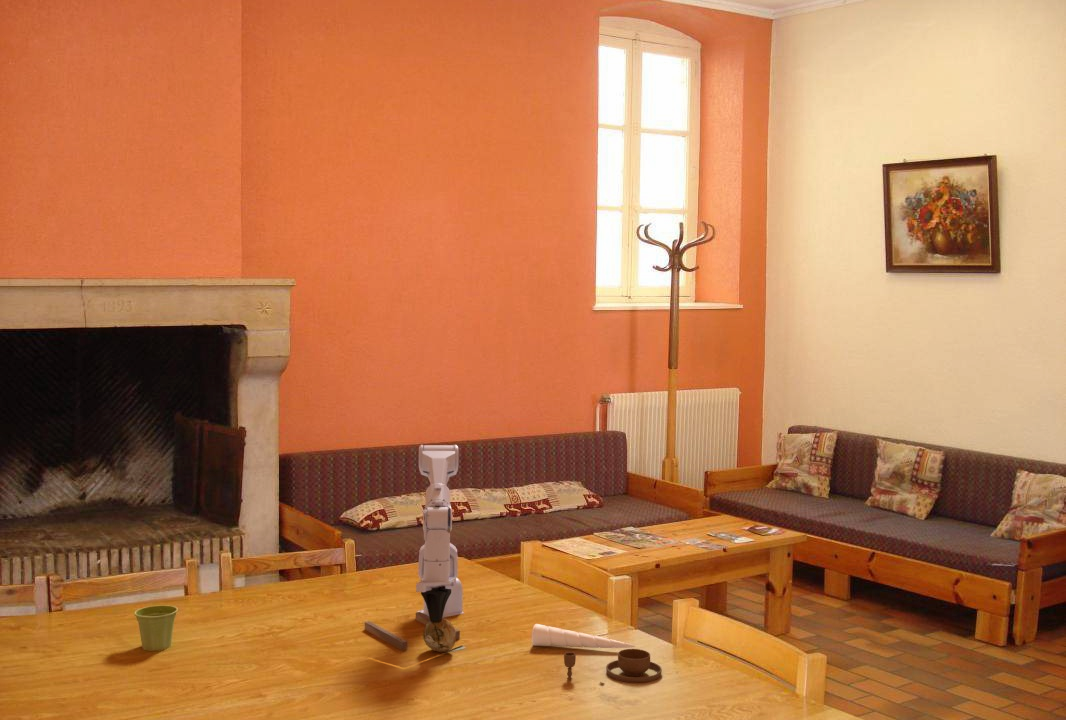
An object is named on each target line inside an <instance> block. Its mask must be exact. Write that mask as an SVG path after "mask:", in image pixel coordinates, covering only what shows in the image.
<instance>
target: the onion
mask: <svg viewBox="0 0 1066 720" xmlns="http://www.w3.org/2000/svg"><path fill="white" fill-rule="evenodd" d="M455 629H456V628H455V627H454V625H453V623H452V621H450V620H449V619H447V618H445V617H443V618H442V620H441V622H431V621H430V622H429V623H428V624H427V625H425V627H424V630H423V633H422V636H423V641H424V644H425V645H426V646H427V647H428V648H429V649H431V650H432V651H434V652H438V653H444V652H446V651H449V650H451V649H454V647H455V645H456V631H455Z"/></svg>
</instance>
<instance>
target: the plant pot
mask: <svg viewBox="0 0 1066 720" xmlns="http://www.w3.org/2000/svg"><path fill="white" fill-rule="evenodd" d="M178 611H179V608H178V607H177V606H174V605H166V604H164V605H163V604H162V605H161V604H160V605H159V604H158V605H150V606H145V607H142V608H141V607H140V608H138V609H136V610H135V611H134V613H133V615H134V616H135V617H136V621H137V623H138V627H139V633H140V634H139V635H140V640H141V646H142V650H144V651H147V650H148V652H154V651H158V652H159V651H163V649H164V650H167V649H169V648H170V647H171V646H172V642H173V641H172V640H173V633H174V626H175V625H174V623H175V619H176V616H177V613H178Z"/></svg>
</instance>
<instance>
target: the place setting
mask: <svg viewBox="0 0 1066 720" xmlns="http://www.w3.org/2000/svg"><path fill="white" fill-rule="evenodd" d="M576 658H577V657H576V653H575V652H572V651H571V652H570V651H569V652H568V651H567V652H564V654H563V663H564V665H565V667H566V668H567V672H566V673H567V678H566V679H567V680H568V681H572V680H573V678H572V676H573V672H572V670H573V669H572V668H574V667H575V665H576ZM616 668H619V669H620V670H621V671H622V672H623V673H624V674H625V675H626V676H625V675H621V674H617V673H614V672H612V670H613V669H616ZM605 669H606V670H605V671H606V673H607V675H608V676H609V677H611V678H612V679H614V680H616V681H619V682H620V681H621V682H624V683H625V682H626V683H634V684H642V683H649V682H650V683H651V682H653V681H656V680H657V679H658V678H660V677H661V675H662V673H663V672H662V667H661V665H659V664H657V663H655V662H653V661H651V653H649V652H648V651H647V650H643V649H639V648H624V649H621V650H619V651H618V652H617V659H616V660H613V661H610V662H608V663H607V665H606V667H605ZM649 669H650V670H653V671H654V672H655V673H656V672H657V673H656V674H653V675H649V676H642V675H643V674H644V673H646V672H648V670H649ZM598 685H600V686H602V687H604V686H605V683H604V682H602V681H600V682H599V683H598Z"/></svg>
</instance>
